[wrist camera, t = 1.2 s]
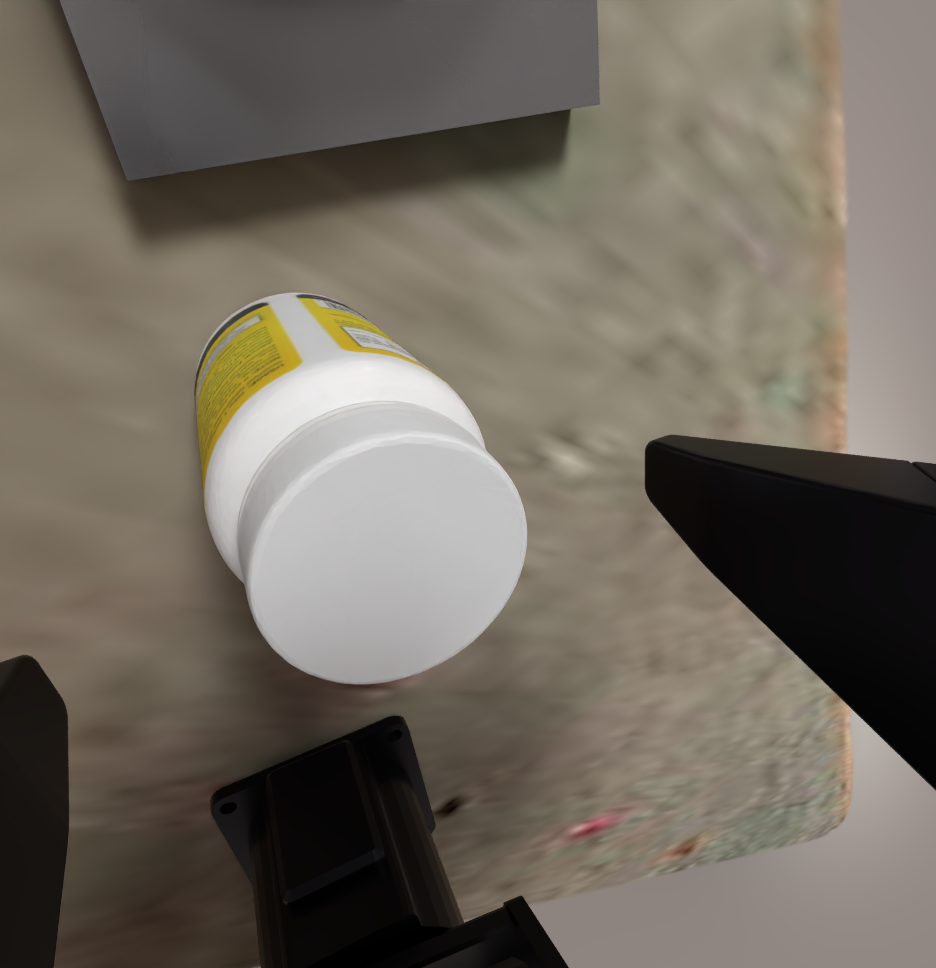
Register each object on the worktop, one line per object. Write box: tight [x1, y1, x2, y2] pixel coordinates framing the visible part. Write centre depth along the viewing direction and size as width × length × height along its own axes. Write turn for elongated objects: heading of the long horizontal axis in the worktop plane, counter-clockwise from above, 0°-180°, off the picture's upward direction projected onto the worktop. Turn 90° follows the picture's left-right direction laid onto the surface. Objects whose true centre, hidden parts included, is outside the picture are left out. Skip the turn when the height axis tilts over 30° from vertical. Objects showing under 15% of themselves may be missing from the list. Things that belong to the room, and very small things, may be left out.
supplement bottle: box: [195, 293, 527, 684], centre depth 12 cm, size 5×5×8 cm
